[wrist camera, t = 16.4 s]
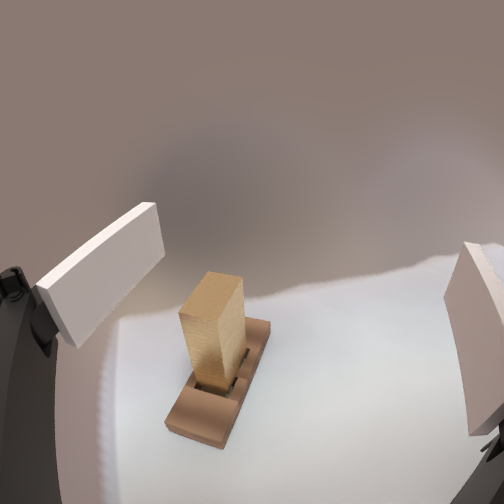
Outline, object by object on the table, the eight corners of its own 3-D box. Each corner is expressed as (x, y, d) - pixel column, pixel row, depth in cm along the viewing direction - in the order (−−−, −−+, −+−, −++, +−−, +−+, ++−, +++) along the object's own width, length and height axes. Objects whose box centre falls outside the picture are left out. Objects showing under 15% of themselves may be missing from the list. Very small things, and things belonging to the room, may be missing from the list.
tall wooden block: (220, 356, 41) (208, 271, 33) (247, 363, 40) (242, 277, 32) (201, 395, 35) (178, 312, 27) (230, 403, 34) (216, 321, 26)
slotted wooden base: (227, 324, 47) (225, 312, 45) (270, 333, 45) (270, 321, 43) (169, 430, 31) (164, 421, 29) (223, 449, 29) (220, 442, 27)
